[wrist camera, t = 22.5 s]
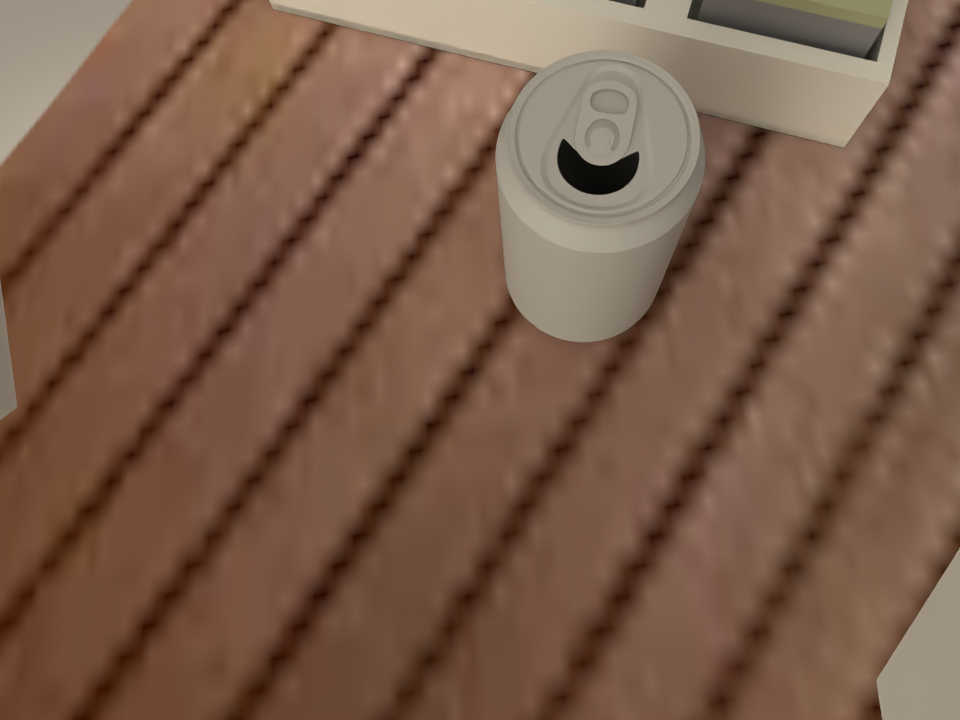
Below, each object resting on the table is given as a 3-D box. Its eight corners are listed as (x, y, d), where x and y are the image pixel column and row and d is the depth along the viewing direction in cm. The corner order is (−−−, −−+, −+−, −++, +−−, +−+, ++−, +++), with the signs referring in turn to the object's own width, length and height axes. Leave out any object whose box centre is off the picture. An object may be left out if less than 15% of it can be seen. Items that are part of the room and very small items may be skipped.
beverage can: (491, 331, 37) (472, 215, 25) (522, 191, 38) (518, 21, 27) (643, 361, 36) (695, 255, 25) (669, 217, 38) (730, 54, 26)
